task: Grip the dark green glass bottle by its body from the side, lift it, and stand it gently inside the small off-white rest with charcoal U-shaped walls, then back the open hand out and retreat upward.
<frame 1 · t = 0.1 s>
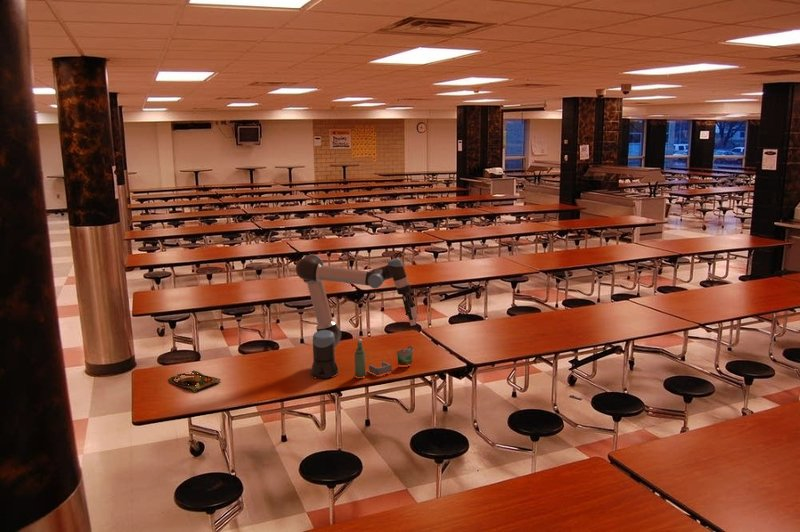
hand: (414, 321, 341), 28 cm above the table, tool tilted 20°, fingers open, 13 cm apart
prepared meal: (193, 383, 329), on the table
bottle: (360, 377, 335), on the table
bottle rest: (379, 372, 341), on the table
food container: (407, 366, 352), on the table
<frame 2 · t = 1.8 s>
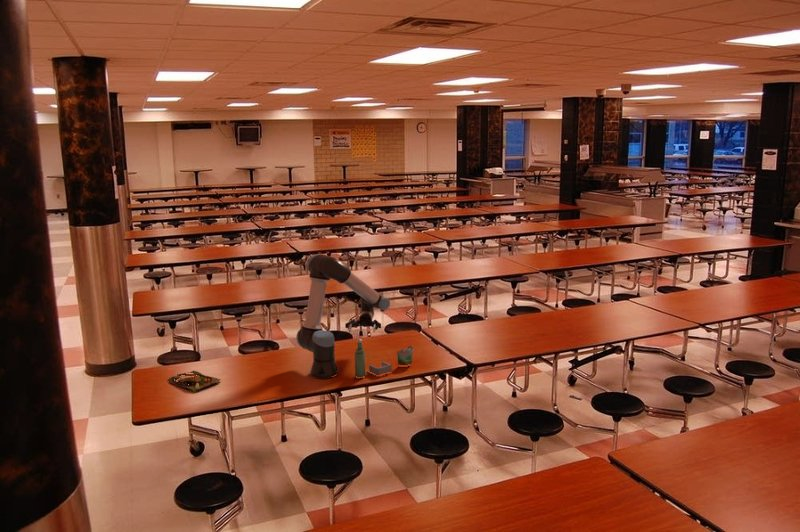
hand: (361, 330, 340), 24 cm above the table, tool horizontal, fingers open, 13 cm apart
nothing on the table moved.
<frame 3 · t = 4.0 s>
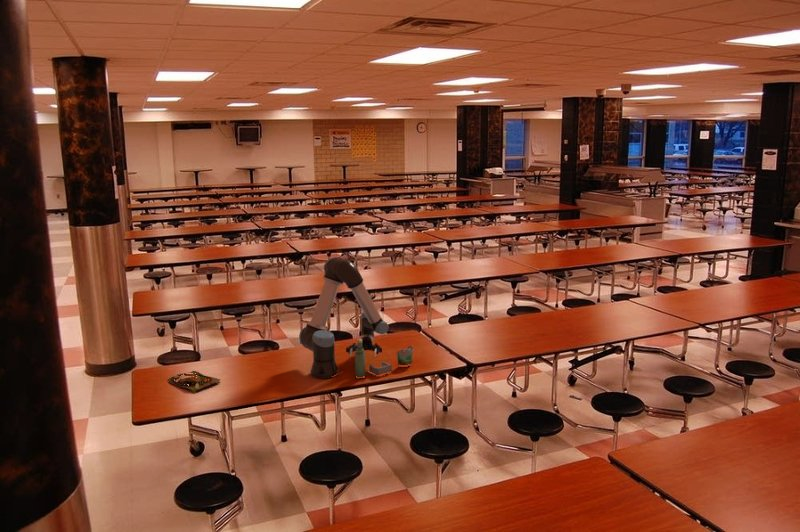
hand: (362, 354, 338), 11 cm above the table, tool horizontal, fingers open, 13 cm apart
nothing on the table moved.
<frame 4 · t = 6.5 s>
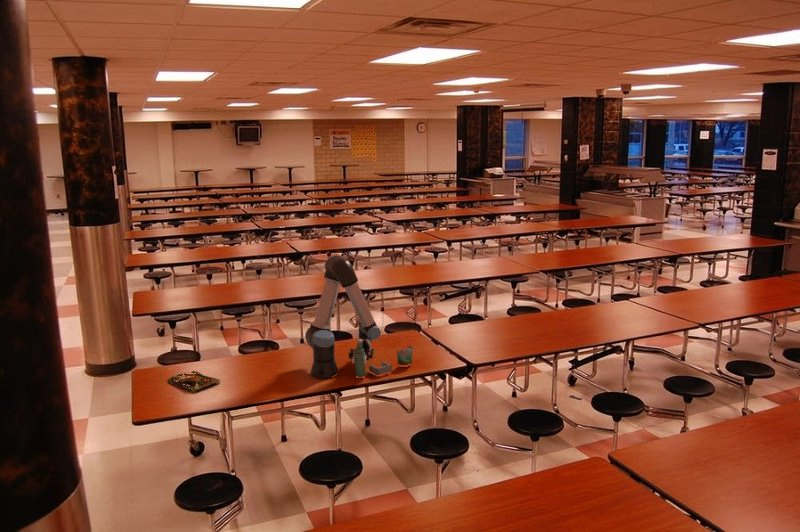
hand: (359, 361, 328), 11 cm above the table, tool horizontal, fingers closed on bottle, 6 cm apart
bottle: (360, 377, 335), on the table, touching gripper
everything else where it was.
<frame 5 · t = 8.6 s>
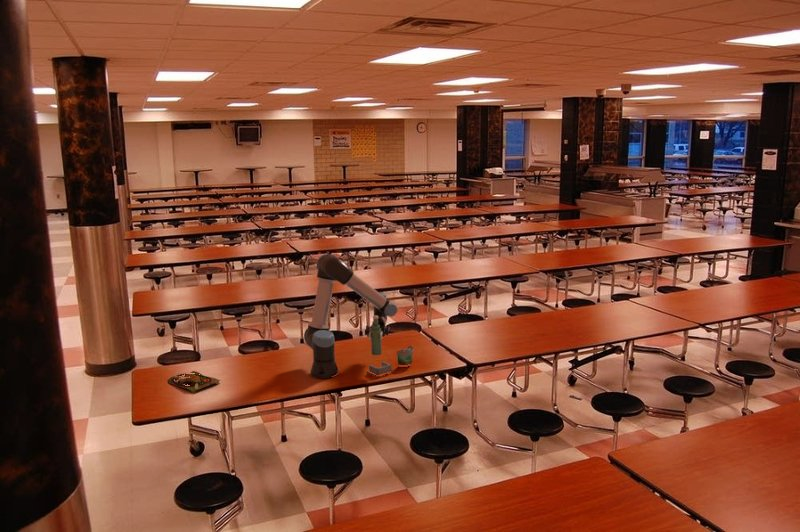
hand: (375, 337, 331), 23 cm above the table, tool horizontal, fingers closed on bottle, 6 cm apart
bottle: (376, 353, 338), point 12 cm above the table, touching gripper
everything else where it was.
when the fingers open (13 cm above the table, at t = 11.1 s): bottle drops 1 cm, resting on bottle rest.
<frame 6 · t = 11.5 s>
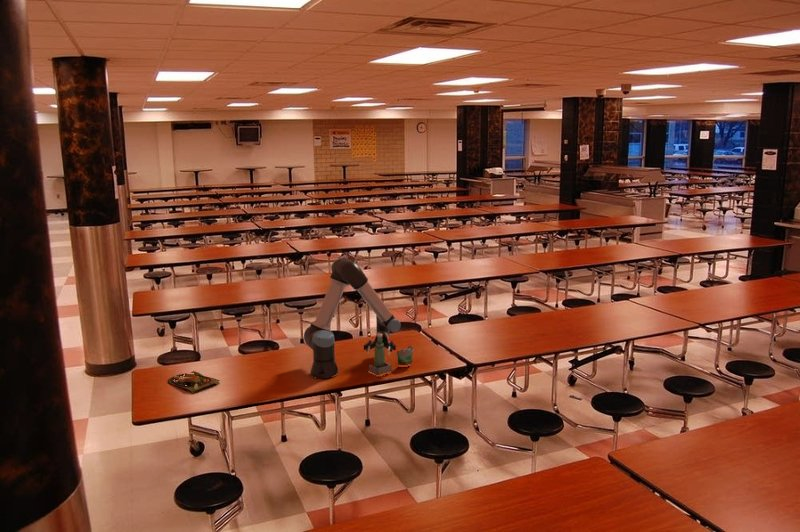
hand: (378, 352, 334), 13 cm above the table, tool horizontal, fingers open, 10 cm apart
bottle: (379, 371, 341), point 1 cm above the table, touching bottle rest
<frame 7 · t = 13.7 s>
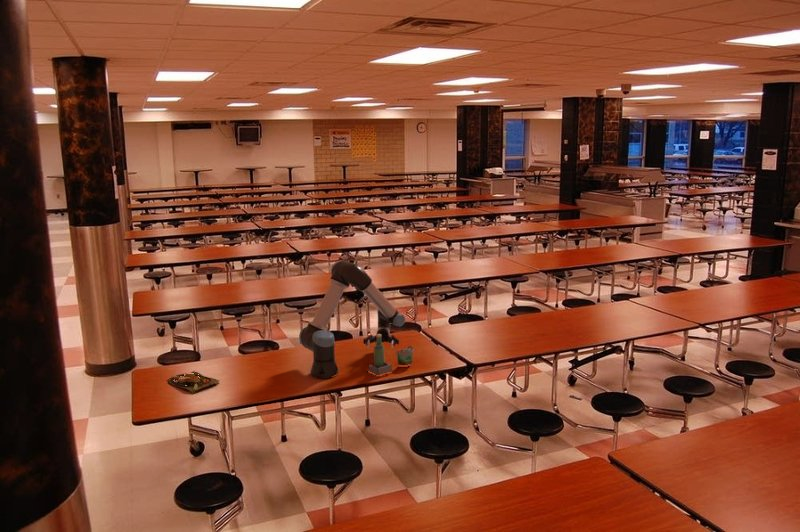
hand: (379, 346, 344), 14 cm above the table, tool horizontal, fingers open, 13 cm apart
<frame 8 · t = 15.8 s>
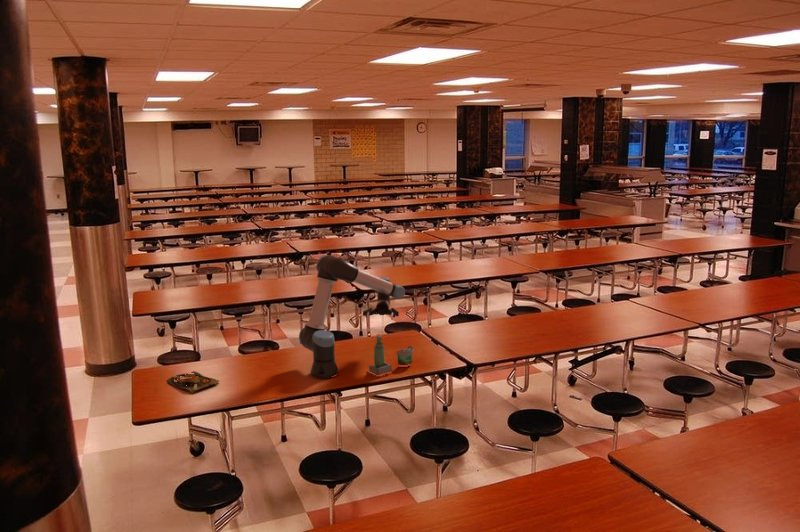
hand: (379, 317, 341), 30 cm above the table, tool horizontal, fingers open, 13 cm apart
at the end: bottle 0.0 cm off-centre on the bottle rest, point 0.8 cm above the bottle rest's base; bottle tilted 0°; the gripper is holding nothing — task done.
